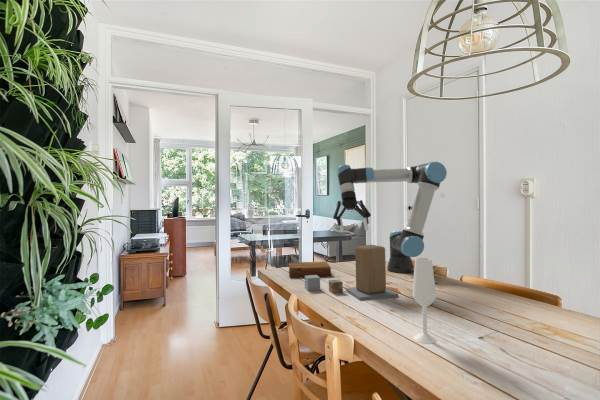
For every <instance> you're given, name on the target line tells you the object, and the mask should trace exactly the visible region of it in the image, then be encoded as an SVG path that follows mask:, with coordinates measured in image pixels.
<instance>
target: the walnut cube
mask: <svg viewBox="0 0 600 400" xmlns="http://www.w3.org/2000/svg"><path fill="white" fill-rule="evenodd" d="M343 288H344V287H343V281H342V280H340V279H329V280H328V291H329V292H330V293H331V294H342V293H343Z"/></svg>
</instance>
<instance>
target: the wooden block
mask: <svg viewBox="0 0 600 400" xmlns="http://www.w3.org/2000/svg"><path fill="white" fill-rule="evenodd" d="M354 250H355V251H354V253H355V287H356V289H357V290H359V291H362V292H364V293H367V294H373V293H380V292H385V291H386V288H387V280H386V279H387V272H386V270H387V269H386V268H387V265H386V248H385V247H384V246H382V245H381V246H380V245H375V244H366V245H356V246H355V249H354Z"/></svg>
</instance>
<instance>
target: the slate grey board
mask: <svg viewBox="0 0 600 400" xmlns="http://www.w3.org/2000/svg"><path fill="white" fill-rule="evenodd" d="M345 292H347V293H348V294H349V295H351V296H353V297H355V298H356V300H359V301H367V300H377V299H387V298H388V299H389V298H399V293H398V292H395V291H393V290H391V289H390V288H388V287H386V291H385V292H380V293H373V294H367V293H364V292H362V291H359V290H357V289H356V286H355V287H346V288H345Z"/></svg>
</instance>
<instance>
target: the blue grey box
mask: <svg viewBox="0 0 600 400" xmlns="http://www.w3.org/2000/svg"><path fill="white" fill-rule="evenodd" d="M304 289H305V290H306V291H308V292H312V291H313V292H314V291H320V290H321V277H319V276H317V275H308V276H305V277H304Z"/></svg>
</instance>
